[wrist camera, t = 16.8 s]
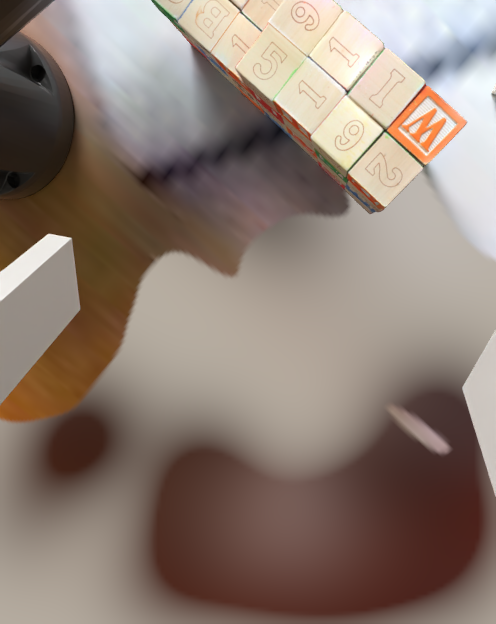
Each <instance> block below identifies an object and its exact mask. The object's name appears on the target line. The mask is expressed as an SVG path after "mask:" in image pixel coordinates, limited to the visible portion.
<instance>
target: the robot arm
mask: <svg viewBox="0 0 496 624" xmlns="http://www.w3.org/2000/svg"><path fill="white" fill-rule="evenodd" d="M53 1H54V0H0V199H19V198H23V197H26V196H29V195H31V194H34V193H36V192H37V191H39V190H41V189H42V188H43V187H45V186H46V185H47V184H48V183H49V182H50V181H51V180H52V179H53V178H54V177H55V176H56V174H57V173H58V172H59V170H60V169H61V167H62V165H63V163H64V161H65V159H66V157H67V154H68V152H69V149H70V145H71V141H72V135H73V126H74V114H73V105H72V99H71V95H70V91H69V88H68V85H67V82H66V80H65V78H64V75H63V73H62V71H61V70H60V68H59V66H58V65H57V63H56V62H55V60H54V59H53V58H52V56H51V55H50V54H49V53H48V52H47V51H46V50H45V49H44V48H43V47H42V46H41V45H40V44H38V43H37V42H36V41H34V40H32V39H31V38H29V37H28V36H26V35H24V34H23V33H21V32H19V31H20V30H21V29H22V28H23V27H25V26H26V25H27V24H28V23H29V22H30V21H31V20H33V19H34V18H35V17H36V16H37V15H38V14H39V13H41V12H42V11H43V10H44V9H45V8H46V7H48V6H49V5H50V4H51V3H52V2H53ZM79 311H80V302H79V293H78V285H77V277H76V269H75V260H74V252H73V244H72V238H69V237H64V236H58V235H53V234H47V235H46V236H45V237H44V238H42V239H41V240H40V241H39V242H37V243H36V244H35V245H34V246H32V247H31V248H30V249H29V250H27V251H26V252H25V253H24V254H22V255H21V256H20V257H19V258H17V259H16V260H15V261H14V262H12V263H11V264H10V265H9V266H7V267H6V268H5V269H4V270H2V271H1V272H0V404H1V403H2V402H3V401H4V400H5V398H6V397H7V396H8V395H9V394H10V393H11V391H12V390H13V389H14V388H15V387H16V385H17V384H18V383H19V382H20V381H21V379H22V378H23V377H24V376H25V375H26V374H27V372H28V371H29V370H30V369H31V368H32V366H33V365H34V364H35V363H36V362H37V360H38V359H39V358H40V357H41V356H42V354H43V353H44V352H45V351H46V350H47V349H48V347H49V346H50V345H51V344H52V343H53V341H54V340H55V339H56V338H57V337H58V335H59V334H60V333H61V332H62V331H63V330H64V328H65V327H66V326H67V325H68V324H69V322H70V321H71V320H72V319H73V318H74V316H75V315H76V314H77V313H78V312H79ZM462 389H463V392H464V396H465V399H466V402H467V405H468V408H469V412H470V415H471V418H472V421H473V424H474V428H475V431H476V434H477V437H478V441H479V444H480V447H481V450H482V454H483V457H484V460H485V464H486V467H487V470H488V473H489V477H490V479H491V483H492V486H493V489H494V492H495V496H496V330H495V331H494V333H493V335H492V336H491V338H490V340H489V342H488V343H487V345H486V347H485V349H484V350H483V352H482V354H481V356H480V358H479V359H478V361H477V363H476V365H475V366H474V368H473V370H472V372H471V373H470V375H469V377H468V379H467V381H466V382H465V384H464V386H463V387H462Z"/></svg>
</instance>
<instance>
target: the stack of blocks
mask: <svg viewBox="0 0 496 624" xmlns="http://www.w3.org/2000/svg"><path fill="white" fill-rule="evenodd" d="M151 1H152V2H153V3H154V5H155V6H156V7H157V8H158V9H159V10H160V11H161V12H162V13H163V14H164V15H165V16H166V17H167V18H168V19H169V20H170V21H171V22H172V24H173V25H174V26H175V27H176V28H177V29H178V30H179V31H180V32H181V33H182V35H183V36H184V37H185V38H186V40H187V41H188V42H189V43H190V44H191V45H192V46H193V47H194V48H195V49H197V50H198V51H199V52H200V53H201V54H202V55H203V56H204V57H205V58H206V59H208V60H209V61H210V62H211V64H212V65H213V66H214V67H215V68H216V69H217V70H218V71H219V72H220V73H221V74H222V75H223V76H224V77H225V78H226V79H227V80H228V81H230V82H231V83H232V84H233V85H234V86H235V87H236V88H237V89H238V90H239V91H240V92H241V93H242V94H243V95H244V96H245V97H246V98H247V99H249V100H250V101H251V102H252V103H253V104H254V105H255V106H256V107H257V108H258V109H259V110H260V111H261V112H262V113H263V114H265V115H267V116H268V117H269V118H270V119H271V120H272V121H273V122H274V123H275V124H277V125H278V126H279V127H280V128H281V129H282V130H283V131H284V132H285V133H286V134H287V135H288V136H289V137H290V138H291V139H293V140H294V141H295V142H296V143H297V144H298V145H299V146H300V147H301V148H302V149H303V150H304V151H305V152H307V153H308V154H309V155H310V156H311V157H312V158H313V159H314V160H315V161H316V162H317V163H318V164H319V166H320V167H321V168H322V169H323V170H324V171H325V172H326V173H328V174H329V175H330V176H331V177H332V178H333V179H334V180H335V181H336V182H337V183H338V184H339V185H340V186H341V187H342V188H343V189H344V190H345V191H346V192H347V193H348V194H349V195H350V196H351V197H352V198H354V199H355V201H356V202H358V203H359V204H360V205H361V206H362V207H363V208H364V209H365V210H366V211H367V212H368V213H369V214H372V213H373V212H381V211H382V210H383V209H384V208H386V207H387V206H388V205H389V204H390V202H391V201H393V200H394V199H395V197H396V196H397V195H398V194H399V193H400V192H401V191H402V190H403V189H404V188H405V187H406V186H407V185H408V184H409V183H410V182H411V181H412V180H413V179H414V178H415V177H416V176H417V175H418V174H419V173H420V172H421V171H422V170H423V168H424V166H426V165H427V164H428V163H429V162H430V161H431V160H432V159H433V158H434V157H435V156H436V155H437V154H438V153H439V152H440V151H441V150H442V149H443V148H444V147H445V146H446V145H447V144H448V143H449V142H450V141H451V140H452V139H453V138H454V137H455V135H456V134H457V133H458V132H459V131H460V130H461V129H462V128H463V127H464V126H465V125H466V124H467V121H466V120H465V119H464V118H463V117H462V116H461V115H460V114H459V113H458V112H457V111H456V110H454V109H453V108H452V107H451V106H450V105H449V104H448V103H447V102H445V101H444V100H443V99H442V98H441V97H440V96H439V95H438V94H437V93H436V92H434V91H433V90H432V89H431V88H430V87H429V86H426V83H425V81H424V79H423V78H421V77H420V76H419V75H418V74H417V73H416V72H415V71H413V70H412V69H411V68H410V67H409V66H408V65H406V64H405V63H404V62H403V61H402V60H401V59H400V58H398V57H397V56H396V55H395V54H394V53H392V52H391V51H390V50H389V49H387V48H384V44H383V42H382V41H381V40H380V39H379V38H378V37H376V36H375V35H374V34H373V33H372V32H370V31H369V30H368V29H367V28H366V27H365V26H364V25H362V24H361V23H360V22H359V21H358V20H357V19H355V18H354V17H353V16H352V15H351V14H350V13H348V12H347V11H343V9H342V8H341V7H340V6H339V5H338V4H337V3H336V2H335V1H334V0H151Z"/></svg>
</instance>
